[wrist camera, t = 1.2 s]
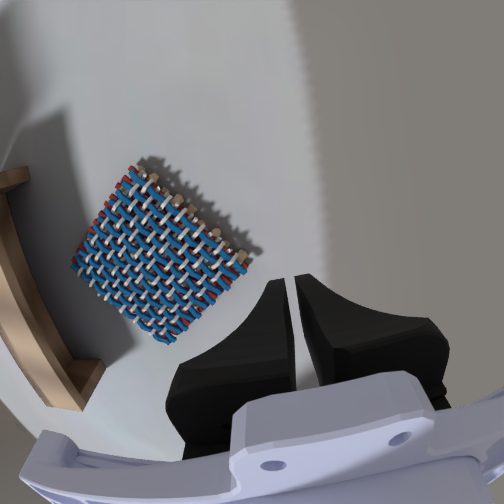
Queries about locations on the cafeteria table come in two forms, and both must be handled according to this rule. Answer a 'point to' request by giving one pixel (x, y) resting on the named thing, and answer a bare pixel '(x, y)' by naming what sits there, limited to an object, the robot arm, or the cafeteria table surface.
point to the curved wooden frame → (36, 321)
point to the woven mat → (155, 257)
